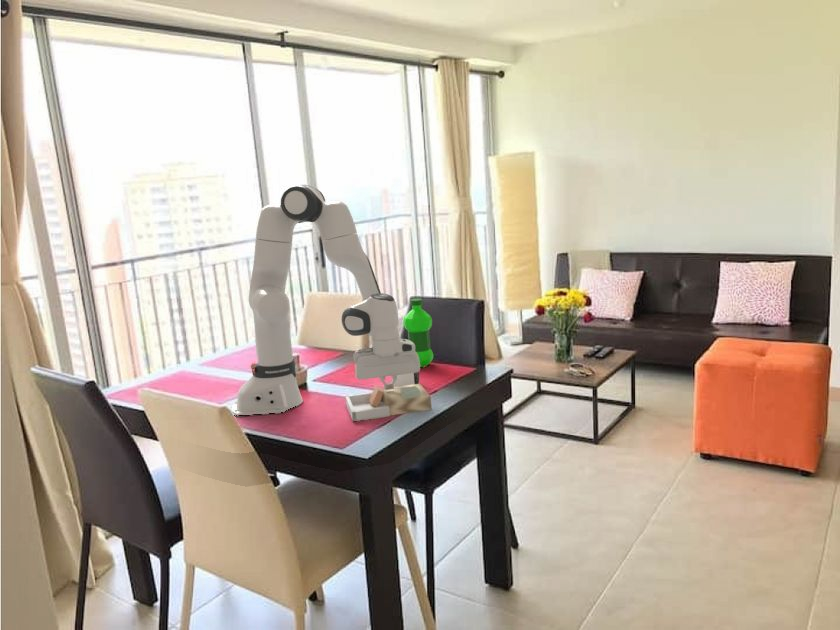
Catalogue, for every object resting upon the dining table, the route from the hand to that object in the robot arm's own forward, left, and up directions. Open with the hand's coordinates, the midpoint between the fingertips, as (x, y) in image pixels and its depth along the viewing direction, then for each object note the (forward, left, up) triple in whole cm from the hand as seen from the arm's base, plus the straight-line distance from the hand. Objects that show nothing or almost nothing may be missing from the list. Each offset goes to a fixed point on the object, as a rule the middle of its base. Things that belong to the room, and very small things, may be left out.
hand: (389, 389), depth 207 cm
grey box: (-8, -4, -5) cm, 10 cm away
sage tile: (+5, -7, -1) cm, 9 cm away
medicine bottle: (+9, +15, -5) cm, 17 cm away
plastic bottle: (+19, +36, -5) cm, 41 cm away
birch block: (+4, -3, -5) cm, 7 cm away
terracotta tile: (-3, 0, -2) cm, 4 cm away
